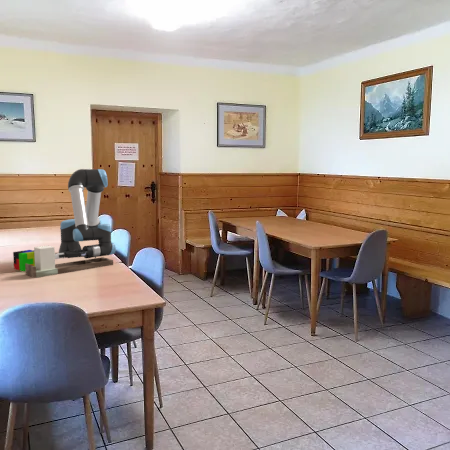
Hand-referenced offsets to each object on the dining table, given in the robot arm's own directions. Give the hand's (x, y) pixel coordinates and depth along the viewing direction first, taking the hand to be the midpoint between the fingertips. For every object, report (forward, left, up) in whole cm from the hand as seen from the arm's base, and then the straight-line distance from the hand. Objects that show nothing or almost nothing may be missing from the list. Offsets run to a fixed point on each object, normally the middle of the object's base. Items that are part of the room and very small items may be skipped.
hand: (52, 256), depth 257 cm
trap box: (-1, +11, -9) cm, 14 cm away
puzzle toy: (-21, -7, -9) cm, 24 cm away
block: (-1, -4, -6) cm, 7 cm away
